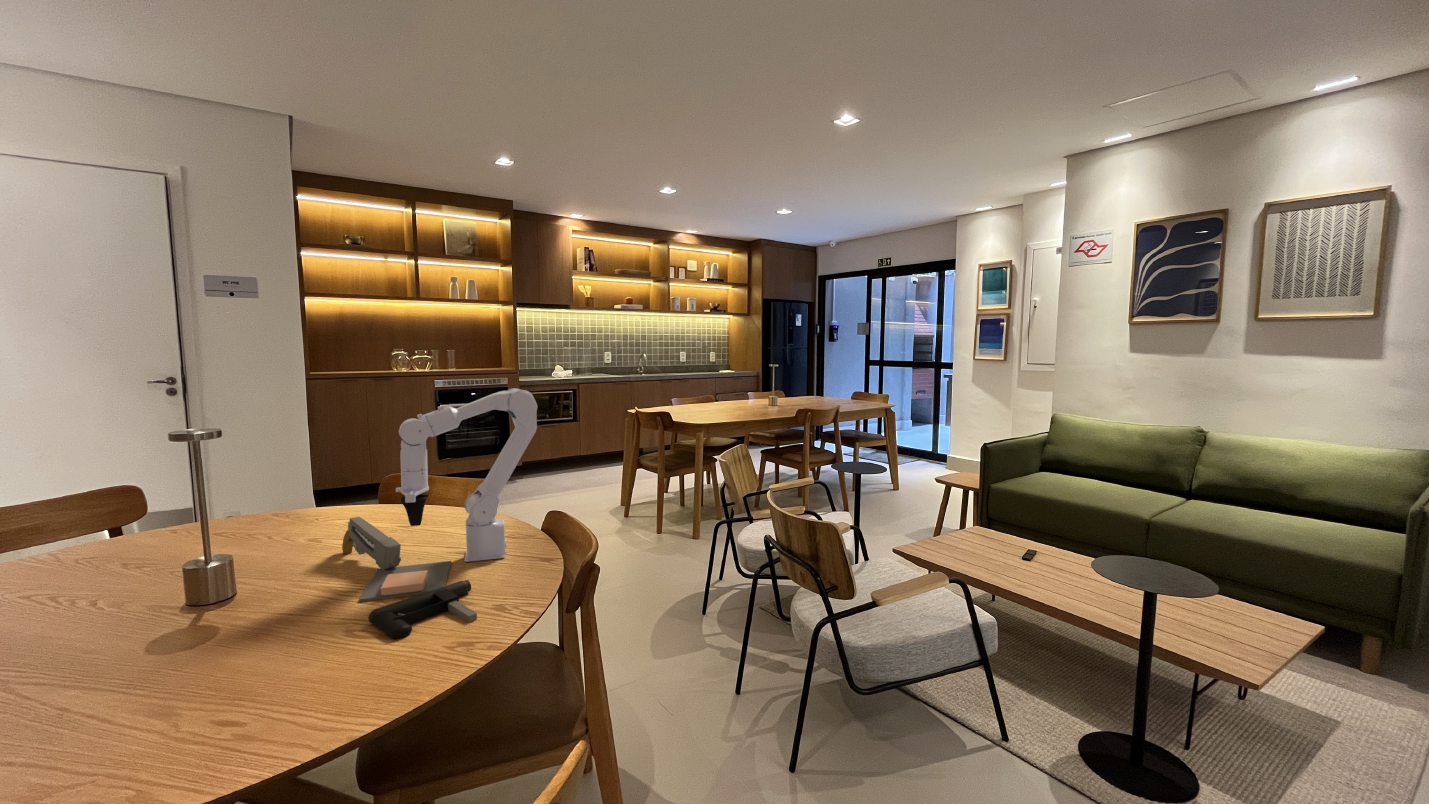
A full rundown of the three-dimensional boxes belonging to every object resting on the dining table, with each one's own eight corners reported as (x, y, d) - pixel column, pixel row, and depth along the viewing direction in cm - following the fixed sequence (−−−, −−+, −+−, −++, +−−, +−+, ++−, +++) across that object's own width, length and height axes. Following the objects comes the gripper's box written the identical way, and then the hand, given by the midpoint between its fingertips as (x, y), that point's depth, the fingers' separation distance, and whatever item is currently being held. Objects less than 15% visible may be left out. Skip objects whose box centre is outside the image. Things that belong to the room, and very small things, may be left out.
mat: (451, 563, 144) (451, 560, 144) (443, 591, 127) (443, 589, 127) (377, 571, 139) (377, 568, 139) (359, 602, 122) (359, 599, 122)
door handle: (503, 599, 118) (462, 575, 128) (401, 637, 103) (363, 607, 112) (503, 614, 119) (462, 590, 129) (402, 655, 103) (363, 623, 113)
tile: (427, 570, 133) (422, 583, 125) (428, 577, 133) (423, 591, 126) (388, 574, 130) (380, 588, 123) (388, 582, 131) (381, 596, 123)
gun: (382, 604, 139) (392, 550, 135) (335, 550, 151) (343, 499, 147) (395, 599, 141) (405, 547, 137) (348, 546, 154) (356, 497, 150)
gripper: (400, 464, 145) (402, 518, 146) (389, 476, 131) (391, 535, 132) (432, 463, 147) (433, 516, 148) (424, 474, 134) (425, 532, 135)
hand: (415, 525), depth 140 cm, fingers closed
